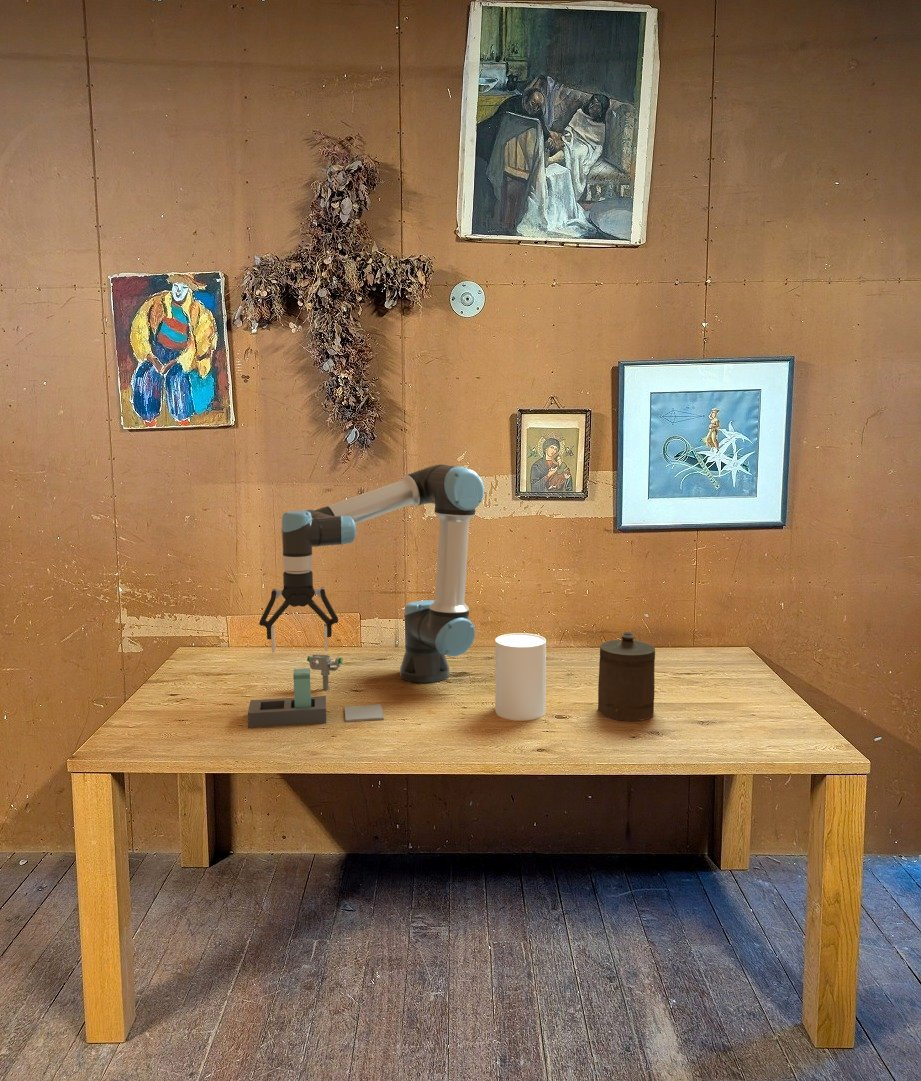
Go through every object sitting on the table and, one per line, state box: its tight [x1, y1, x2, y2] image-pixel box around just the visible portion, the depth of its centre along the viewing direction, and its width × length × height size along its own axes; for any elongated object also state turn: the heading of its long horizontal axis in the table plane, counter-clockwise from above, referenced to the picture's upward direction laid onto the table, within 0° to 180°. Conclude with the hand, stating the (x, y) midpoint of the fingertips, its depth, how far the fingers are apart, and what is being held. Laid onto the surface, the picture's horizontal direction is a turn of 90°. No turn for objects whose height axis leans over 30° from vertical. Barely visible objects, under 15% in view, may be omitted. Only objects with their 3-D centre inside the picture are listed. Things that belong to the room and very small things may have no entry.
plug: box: [292, 667, 312, 708], centre depth 234 cm, size 4×4×13 cm
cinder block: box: [247, 695, 327, 729], centre depth 234 cm, size 20×10×4 cm, turn 99°
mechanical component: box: [306, 653, 343, 691], centre depth 257 cm, size 3×10×10 cm, turn 79°
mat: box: [344, 704, 385, 723], centre depth 238 cm, size 10×10×1 cm
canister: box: [494, 632, 547, 722], centre depth 237 cm, size 14×14×20 cm
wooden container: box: [597, 631, 656, 722], centre depth 237 cm, size 15×15×22 cm
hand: (299, 650), depth 232 cm, fingers open, 13 cm apart
